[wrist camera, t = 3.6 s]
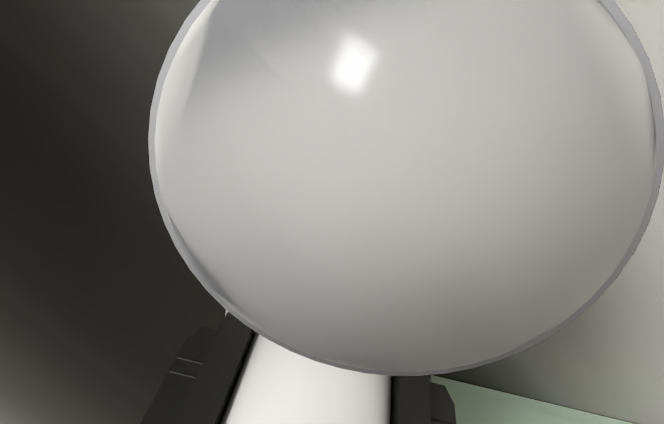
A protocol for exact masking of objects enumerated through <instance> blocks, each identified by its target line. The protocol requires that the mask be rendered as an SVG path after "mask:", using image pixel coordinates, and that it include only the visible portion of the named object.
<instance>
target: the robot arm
mask: <svg viewBox="0 0 664 424" xmlns="http://www.w3.org/2000/svg"><path fill="white" fill-rule="evenodd" d="M254 334H255V331H254V330H252V329H251V328H249V327H248V326H246V325H245V324H243V323H242V322H241V321H240V320H239V319H237V318H236V317H235V316H234V315H232V314H231V313H230V312H229V311H228V312H227V314H226V316H225V318H224V320H223V322H222V324H221V326H220V328H219V330H214V329H210V328H206V327H201V328H200V329H199V330H197V331H196V332H195V333H193V334H192V335H191V336H190V337H188V338H187V339H186V341H185V342H184V344H183V346H182V348H181V350H180V352H179V354H178V355H177V359H175V361H174V363H173V365H172V366H171V368H170V371H169V373H168V374H167V376H166V378H165V379H164V381H163V383H162V385H161V387H160V389H159V391H158V392H157V394H156V396H155V398H154V400H153V402H152V403H151V405H150V407H149V409H148V411H147V413H146V415H145V416H144V418H143V420H142V422H141V424H221V421H222V418H223V416H224V413H225V410H226V408H227V405H228V403H229V400H230V397H231V395H232V392H233V389H234V387H235V384H236V382H237V379H238V376H239V374H240V371H241V368H242V366H243V363H244V360H245V358H246V355H247V353H248V350H249V347H250V345H251V342H252V339H253V337H254ZM390 424H456V415H455V404H454V402H453V401H452V399H451V397H450V395H449V393H448V391H447V389H446V387H445V385H441V384H437V383H433V382H429V375H423V376H392V389H391V414H390Z"/></svg>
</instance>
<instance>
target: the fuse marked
mask: <svg viewBox="0 0 664 424" xmlns="http://www.w3.org/2000/svg"><path fill="white" fill-rule="evenodd" d="M391 389H392V376H389V375H378V374H368V373H362V372H357V371H351V370H346V369H341V368H337V367H334V366H330V365H327V364H324V363H320V362H317V361H314V360H311V359H309V358H306V357H304V356H301V355H299V354H296V353H294V352H291V351H289V350H287V349H285V348H283V347H281V346H279V345H277V344H275V343H274V342H272V341H270V340H268V339H266V338H265V337H263V336H261V335H260V334H258V333H257V332H255V334H254V337H253V339H252V342H251V345H250V347H249V350H248V353H247V355H246V358H245V360H244V363H243V366H242V368H241V371H240V374H239V376H238V379H237V382H236V384H235V387H234V389H233V392H232V395H231V397H230V400H229V403H228V405H227V408H226V410H225V413H224V416H223V418H222V421H221V424H390V414H391Z"/></svg>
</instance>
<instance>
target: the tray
mask: <svg viewBox="0 0 664 424" xmlns="http://www.w3.org/2000/svg"><path fill="white" fill-rule="evenodd" d="M429 382H433V383H437V384H441V385H445V387H446V389H447V391H448V393H449V395H450V397H451V399H452V401H453V402H454V404H455V415H456V424H633V423H629V422H625V421H621V420H617V419H613V418H608V417H604V416H600V415H596V414H592V413H588V412H583V411H579V410H575V409H571V408H567V407H563V406H559V405H554V404H550V403H546V402H542V401H538V400H534V399H529V398H525V397H521V396H517V395H513V394H509V393H505V392H500V391H496V390H492V389H488V388H484V387H480V386H476V385H471V384H467V383H463V382H459V381H455V380H451V379H446V378H442V377H438V376H434V375H431V377H430V379H429Z"/></svg>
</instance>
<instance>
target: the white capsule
mask: <svg viewBox="0 0 664 424" xmlns="http://www.w3.org/2000/svg"><path fill="white" fill-rule="evenodd" d="M148 145H149V163H150V172H151V177H152V182H153V187H154V192H155V197H156V200H157V203H158V206H159V209H160V212H161V215H162V218H163V221H164V223H165V226H166V228H167V230H168V232H169V234H170V236H171V238H172V240H173V242H174V245H175V247H176V248H177V250H178V251H179V253H180V255H181V256H182V258H183V259H184V261H185V263H186V264H187V266H188V267H189V269H190V270H191V271H192V273H193V274H194V275H195V276H196V278H197V279H198V280H199V281H200V283H201V284H202V285H203V286H204V288H205V289H206V290H207V291H208V292H209V293H210V294H211V295H212V296H213V297H214V298H215V299H216V300H217V301H218V302H219V303H220V304H221V305H222V306H223V307H224V308H225V309H226V310H227V311H229V312H230V313H231V314H232V315H234V316H235V317H236V318H237V319H239V320H240V321H241V322H242V323H243V324H245V325H246V326H248V327H249V328H251V329H252V330H254V331H255V332H257V333H258V334H260V335H261V336H263V337H265V338H266V339H268V340H270V341H272V342H274V343H275V344H277V345H279V346H281V347H283V348H285V349H287V350H289V351H291V352H294V353H296V354H299V355H301V356H304V357H306V358H309V359H311V360H314V361H317V362H320V363H324V364H327V365H330V366H334V367H337V368H341V369H346V370H351V371H357V372H362V373H368V374H378V375H389V376H423V375H434V374H445V373H451V372H456V371H461V370H466V369H472V368H475V367H479V366H482V365H486V364H489V363H492V362H496V361H499V360H502V359H504V358H507V357H509V356H511V355H514V354H516V353H519V352H521V351H524V350H526V349H528V348H530V347H531V346H533V345H535V344H537V343H539V342H541V341H543V340H544V339H546V338H548V337H550V336H552V335H553V334H555V333H556V332H557V331H559V330H560V329H562V328H563V327H565V326H566V325H568V324H569V323H570V322H572V321H573V320H575V319H576V318H577V317H578V316H579V315H580V314H582V313H583V312H584V311H585V310H586V309H587V308H588V307H590V306H591V305H592V304H593V303H594V302H595V301H596V300H597V299H598V298H599V297H600V296H601V295H602V294H603V293H604V292H605V290H606V289H607V288H608V287H609V286H610V285H611V284H612V283H613V281H614V280H615V279H616V278H617V277H618V275H619V274H620V272H621V271H622V270H623V268H624V267H625V265H626V264H627V262H628V261H629V259H630V258H631V256H632V255H633V254H634V252H635V250H636V248H637V246H638V244H639V242H640V240H641V238H642V236H643V234H644V232H645V230H646V228H647V226H648V224H649V221H650V218H651V215H652V212H653V209H654V206H655V203H656V200H657V197H658V194H659V188H660V183H661V177H662V172H663V166H664V118H663V111H662V104H661V96H660V92H659V89H658V85H657V82H656V79H655V76H654V73H653V69H652V66H651V63H650V60H649V58H648V56H647V54H646V52H645V50H644V48H643V46H642V44H641V42H640V40H639V38H638V36H637V34H636V32H635V30H634V28H633V26H632V25H631V23H630V22H629V21H628V19H627V18H626V17H625V15H624V14H623V12H622V11H621V10H620V8H619V7H618V6H617V4H616V3H615V2H614V0H200V2H199V3H198V4H197V5H196V7H195V8H194V9H193V11H192V12H191V13H190V14H189V16H188V17H187V18H186V20H185V21H184V23H183V25H182V27H181V28H180V30H179V32H178V34H177V36H176V37H175V39H174V41H173V43H172V44H171V46H170V48H169V50H168V53H167V55H166V58H165V61H164V63H163V66H162V68H161V71H160V74H159V76H158V79H157V83H156V88H155V92H154V96H153V101H152V105H151V110H150V123H149V135H148Z"/></svg>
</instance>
